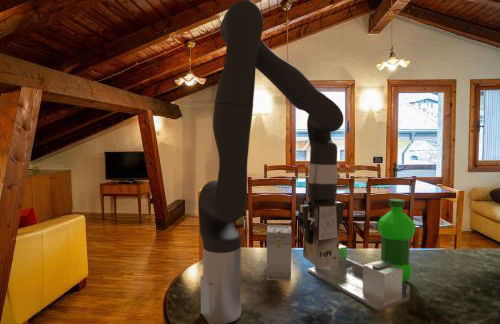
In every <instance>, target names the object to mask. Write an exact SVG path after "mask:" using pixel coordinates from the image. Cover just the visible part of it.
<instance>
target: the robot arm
mask: <svg viewBox="0 0 500 324" xmlns="http://www.w3.org/2000/svg"><path fill="white" fill-rule="evenodd" d="M263 31H264V16H263V14H262V12H261V9H260V8H259V6H258V4H256V3H255V2H253V1H251V0H238V1H236V2H235V3H233V4H232V5H231V6H229V8H228V9H227V11H226V12H225V14H224V16H223V18H222V20H221V23H220V27H219V33H220V37H221V39H222V41H223V43H225V45H226V46H225V48H226V50H225V60H224V64H223V68H222V72H221V74H220V78H219V81H218V84H217V85H218V86H217V89H216V93H215V98H214V105H213V106H214V107H213V115H212V131H213V135H214V140H215V141H214V142H215V144H216V148H217V153H218V160H219V161H218V163H219V165H218V174H217V180H214V179H213V180H211V181H208V182H207V183H206V184H204V186H203V187H202V188H201V190H200V192H199V197H198V222H199V223H198V225H199V226H198V227H199V234H200V237H201V239H202V240H201V241H202V255H203V256H202V266H203V267H202V268H203V271H202V272H203V274H202V275H201V276H200V313H201V315H202V316H203V317H204V319H205V320H206V321H207V323H208V324H229V323H233V322H235V321H237V320H239V318H240V317H241V314H242V298H241V297H242V281H241V280H242V264H241V263H242V254H241V253H242V243H241V242H242V239H241V234H240V233H239V231H238V230H237V228H236V227H235V225H234V223H235V222H237V221H238V220H240V219H241V217H243V215H244V213H245V211H246V208H247V202H248V162H249V161H248V160H249V148H250V138H251V137H250V135H251V129H252V128H251V127H252V121H253V113H254V112H253V110H254V95H255V87H256V85H255V84H256V70H257V71H259V72H260V73H261V74H262V75H263V76H264V77H266V79H268V81H270V82H271V83H272V84H273V85H274V87H276V89H278V90H279V92H280V93H281V94H282V95H283V96H284V97H285V98H286V99H287V100H288V101H289V102H290V104H292V105H293V106H294V107H295V108H296V109H297V110H300V111H304V112H305V113H307V115H308V116H307V120H306V128H307V129H306V130H307V135H308V141H309V146H310V150H309V151H310V152H309V169H308V184H307V197H308V200H309V203H308V205H304V204H299V205H298V227H299V228H302V229H303V230H304V229H305V241H306V243H308V244H313V232H314V231H313V228H314V222H315V219H314V218H311V217H310V213H309V211H310V212H311V210H312V212H314V206H315V204H322V203H334V204H337V205H340V225H342V224H343V222H344V206H345V204H344V202H342V201H341V202H340V201H337V200H336V199H337V197H338V195H337V194H338V191H337V190H338V165H337V163H338V146H337V144H336V143H335V142H334V141H332V135H331V133H333V132H335V131H338V130H340V129H341V127H342V126H343V123H344V114H343V111H342V110H341V108H340V107H339V106H338V104H336V103H335V102H334V101H333V100H332V99H330V98H329V97H328V96H326V95H325V94H324V93H323V92H321V91H319V90H318V89H317V88H316V87H315V86H314V85H313V84H312V82H311V81H310V80H309V79H308V78H307V77H306V75H304V73H302V72H301V70H299V69H298V68H297V67H296V66H294V65H293V64H291V62H288V61H287V60H285V59H283V58H282V57H281V56H279V55H278V54H276V52H274V51H272V50H271V48H269V47H268V45H266V43H265V42H264V40H263V39H262V36H263ZM335 200H336V201H335ZM308 213H309V214H308ZM310 221H311V224H310Z"/></svg>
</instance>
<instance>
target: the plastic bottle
mask: <svg viewBox="0 0 500 324" xmlns="http://www.w3.org/2000/svg"><path fill="white" fill-rule="evenodd" d="M388 201H389V203H388V205H389V207H390V210H389V211H388V212H387V213H386V214H384V215H383V216H382V217H380V218H379V219H378V221H377V232H378V233H379V235H380V236H381V243H380V245H381V248H380V259H379V261H380V260H381V261H384V262H390V263H392V264H393V265H394V266H397V267H399V268H402V269H403V274H402V283H405V282H407V281H408V280H410V277H411V276H412V273H413V267H412V263H411V262H410V251H411V250H410V248H411V245H410V244H411V239H412V238H413V237H414V235H415V233H416V225H415V222H414V221H413V219H412V218H410V217H409V215H407V214H406V213H405V212H403V208H404V207H405V206H406V205H405V204H406V203H405V202H406V200H404V199H401V198H389V199H388Z"/></svg>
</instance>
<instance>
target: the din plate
mask: <svg viewBox="0 0 500 324" xmlns="http://www.w3.org/2000/svg"><path fill="white" fill-rule="evenodd" d="M347 254H348V246H346V245H343V244H341V243H340V242H339V253H338V266H330V267H321V268H318V267H316V266H315V265H314V266H313V267H309V268H307V272H308V273H310V274H311V275H314V277H315V276H316V277H317V278H319V279H320V280H322V281H324V282H325V283H327V284H329V285H331V286H333V287H334V288H336V289H337V290H340V291H341V292H342V293H345V294H347V295H349V296H350V297H352V298H353V299H356V300H357V301H359V302H361V303H362V304H364V305H366V306H368V307H370V308H371V309H374V310H375V311H377V312H382V311H384V310H387V309H389V308H392V307H395V306H397V305H400V304H402V303H405V302H408V301H410V290H411V289H410V287H411V285H409V284H406V283H405V282H403V283H402V274H403V269H402V268H399V267H397V266H394V265H393V264H392V263H390V262H384V261H381V260H380V259H379V260H377V261H372V262H368V263H366V264H365V263H364V264H361V263H359V262H356V261H355V260H352V259H350V258H348V257H347Z"/></svg>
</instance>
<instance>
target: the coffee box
mask: <svg viewBox="0 0 500 324" xmlns="http://www.w3.org/2000/svg"><path fill="white" fill-rule="evenodd" d="M303 203H304V204H303V205H308V203H309V199H308V200H304V202H303ZM309 213H310V217H311V218H314V219H315V222H314V228H313V231H314V232H313V244H308V243H306V241H305V229H304V228H303V245H302V246H303V247H302V250H303V251H302V257H303V258H304V259H306V260H307V261H309V263H311V264H312V265H314V267H315V266H316V267H318V268H321V267H330V266H338V253H339V243H340V226H341V224H340V205H337V204H334V203H322V204H315V206H314V212H312V210H311V212H310V211H309ZM309 213H308V214H309ZM310 224H311V221H310Z"/></svg>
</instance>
